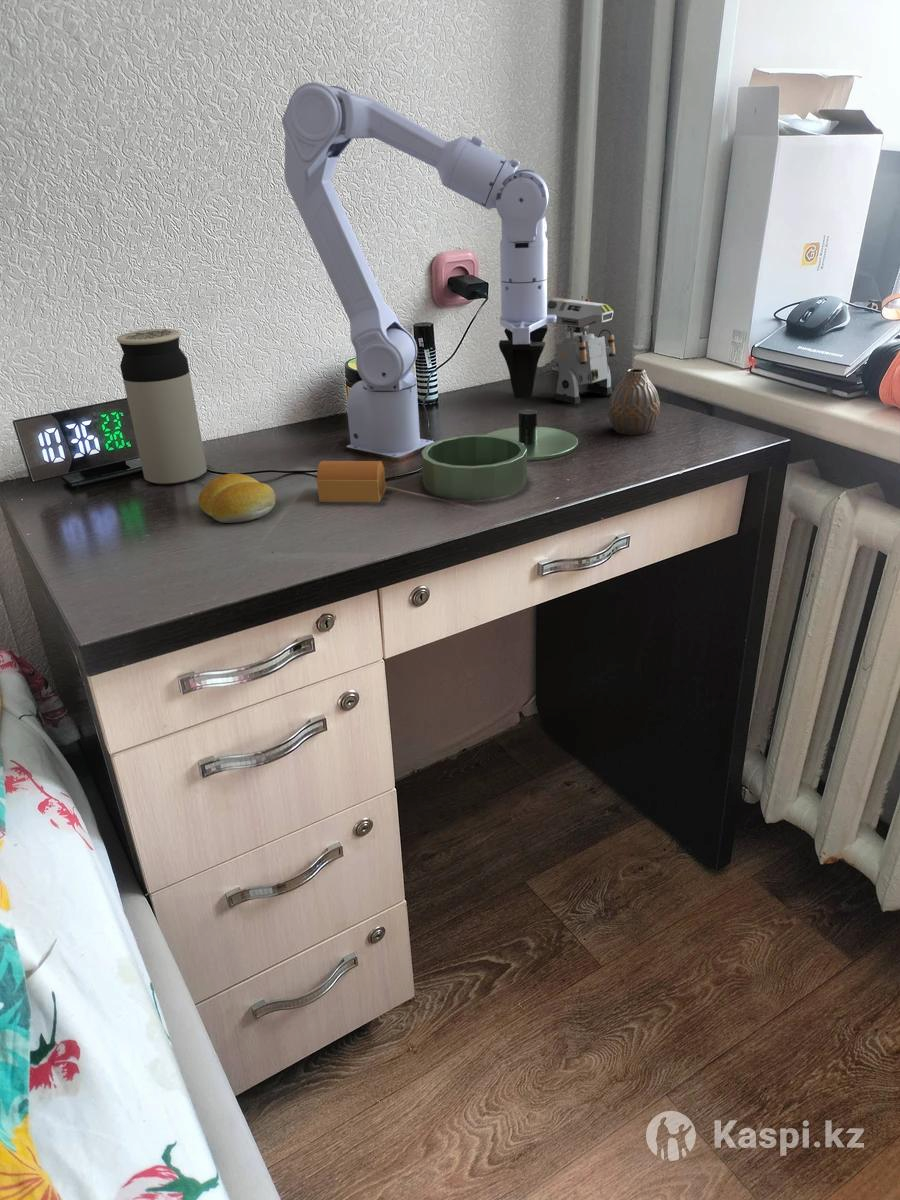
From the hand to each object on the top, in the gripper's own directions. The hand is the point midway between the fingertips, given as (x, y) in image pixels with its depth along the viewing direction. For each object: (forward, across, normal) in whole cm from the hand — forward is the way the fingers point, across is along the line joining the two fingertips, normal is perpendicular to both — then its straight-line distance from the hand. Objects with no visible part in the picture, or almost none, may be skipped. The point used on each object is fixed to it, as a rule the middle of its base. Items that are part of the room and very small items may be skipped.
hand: (524, 389), depth 113 cm
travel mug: (+8, -10, +45) cm, 47 cm away
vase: (+8, +7, -15) cm, 18 cm away
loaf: (+8, -18, +20) cm, 28 cm away
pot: (+8, -14, +5) cm, 17 cm away
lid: (+8, 0, 0) cm, 8 cm away
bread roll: (+8, -22, +32) cm, 40 cm away
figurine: (+8, +27, -6) cm, 29 cm away
